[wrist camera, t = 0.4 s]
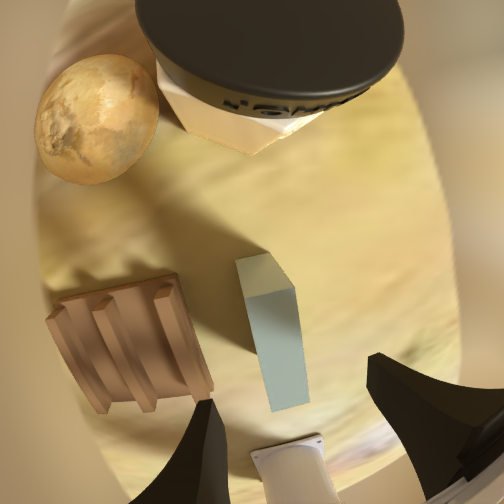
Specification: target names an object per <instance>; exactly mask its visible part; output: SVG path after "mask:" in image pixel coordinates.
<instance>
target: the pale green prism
mask: <svg viewBox="0 0 504 504" xmlns="http://www.w3.org/2000/svg"><path fill="white" fill-rule="evenodd" d="M235 262H236V266H237V271H238V275H239V279H240V284H241V288H242V293H243V297H244V301H245V305H246V310H247V314H248V318H249V323H250V327H251V331H252V335H253V339H254V344H255V348H256V352H257V356H258V360H259V364H260V368H261V372H262V376H263V380H264V384H265V388H266V392H267V396H268V400H269V404H270V408H271V411H272V412H275V411H280V410H284V409H287V408H291V407H295V406H299V405H302V404H306V403H309V402H310V399H309V390H308V381H307V373H306V365H305V357H304V349H303V342H302V334H301V327H300V320H299V313H298V306H297V299H296V293H295V287H294V285H293V284H292V282H291V281H290V280H289V278H288V277H287V275H286V274H285V273H284V271H283V270H282V269H281V267H280V266H279V264H278V263H277V262H276V260H275V259H274V257H273V256H272V255H271V253H270V252H269V253H264V254H260V255H255V256H251V257H246V258H242V259H238V260H235Z"/></svg>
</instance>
